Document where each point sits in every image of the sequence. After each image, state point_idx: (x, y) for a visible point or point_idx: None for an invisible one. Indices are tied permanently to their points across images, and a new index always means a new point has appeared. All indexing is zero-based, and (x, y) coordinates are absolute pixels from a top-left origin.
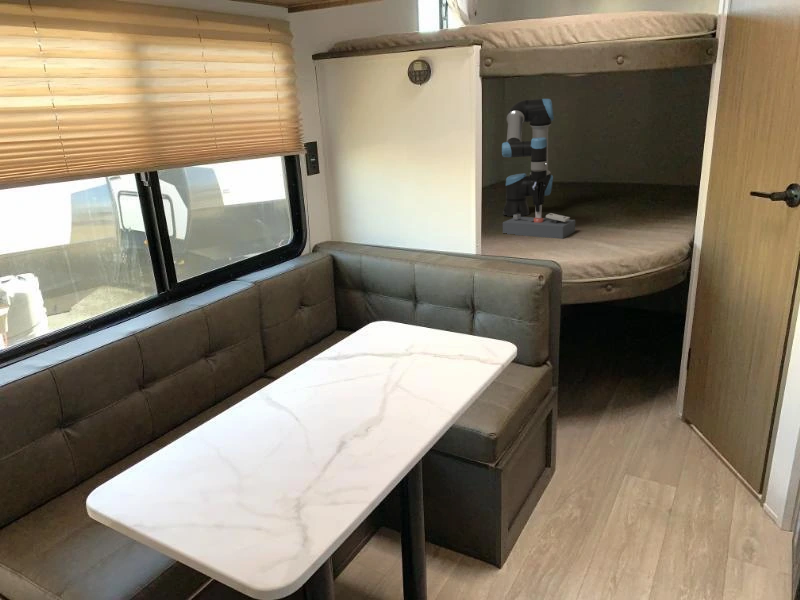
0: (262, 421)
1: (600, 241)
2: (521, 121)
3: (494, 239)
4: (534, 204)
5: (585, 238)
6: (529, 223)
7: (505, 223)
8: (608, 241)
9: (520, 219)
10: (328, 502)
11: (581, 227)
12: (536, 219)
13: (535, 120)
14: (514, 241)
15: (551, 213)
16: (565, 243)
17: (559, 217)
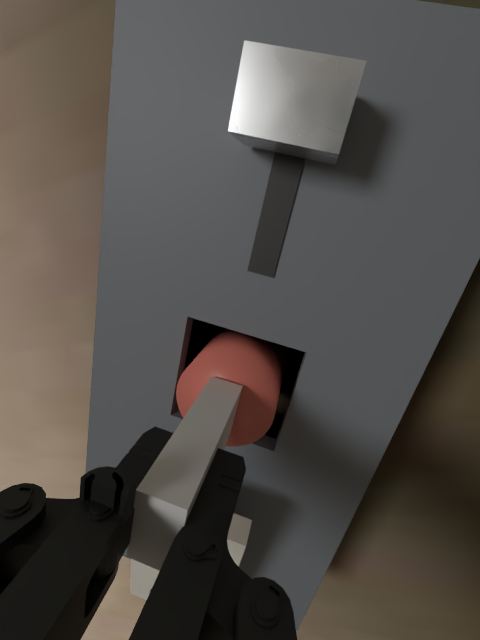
0: None
1: (124, 599)
2: None
3: (7, 38)
4: (87, 488)
5: None
6: (122, 316)
7: (121, 20)
8: (131, 621)
9: (319, 170)
10: None
11: (451, 588)
12: (178, 384)
13: None
14: (7, 220)
15: (234, 550)
16: (54, 480)
17: (149, 575)
